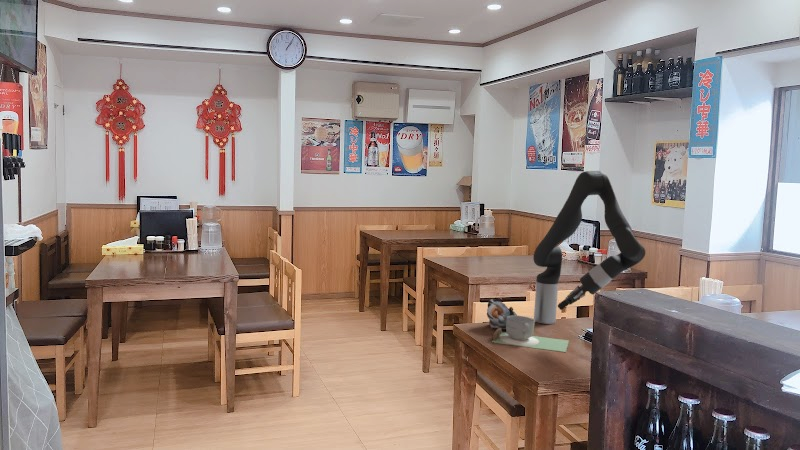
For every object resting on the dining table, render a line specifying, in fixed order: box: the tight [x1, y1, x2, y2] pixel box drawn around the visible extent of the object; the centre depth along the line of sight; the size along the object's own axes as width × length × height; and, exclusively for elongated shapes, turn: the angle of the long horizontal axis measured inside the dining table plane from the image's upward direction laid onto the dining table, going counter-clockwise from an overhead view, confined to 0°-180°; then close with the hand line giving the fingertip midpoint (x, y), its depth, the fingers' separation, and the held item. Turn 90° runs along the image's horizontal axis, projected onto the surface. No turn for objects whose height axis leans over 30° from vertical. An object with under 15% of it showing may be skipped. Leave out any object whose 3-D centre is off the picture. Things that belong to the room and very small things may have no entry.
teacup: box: [505, 315, 536, 340], centre depth 238 cm, size 14×11×8 cm
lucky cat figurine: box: [486, 298, 518, 330], centre depth 253 cm, size 15×12×14 cm
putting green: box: [491, 327, 570, 353], centre depth 236 cm, size 16×27×2 cm, turn 71°
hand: (559, 307), depth 232 cm, fingers closed
